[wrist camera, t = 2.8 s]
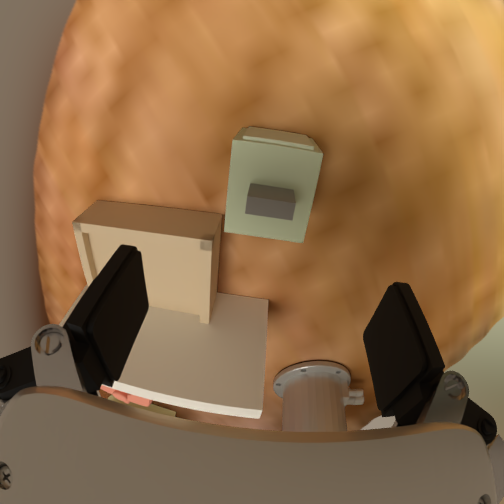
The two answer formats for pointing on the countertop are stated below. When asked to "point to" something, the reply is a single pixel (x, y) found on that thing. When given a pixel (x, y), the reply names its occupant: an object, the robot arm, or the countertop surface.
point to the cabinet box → (271, 183)
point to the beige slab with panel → (181, 309)
